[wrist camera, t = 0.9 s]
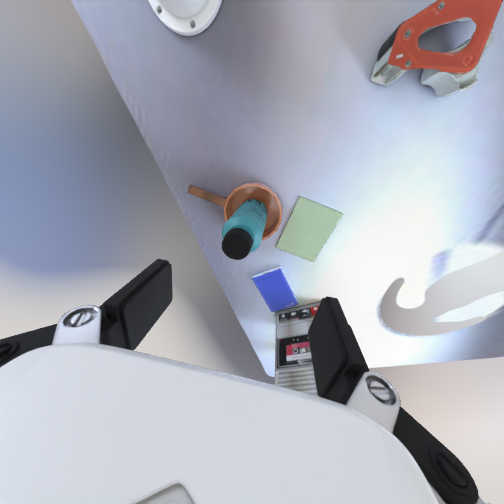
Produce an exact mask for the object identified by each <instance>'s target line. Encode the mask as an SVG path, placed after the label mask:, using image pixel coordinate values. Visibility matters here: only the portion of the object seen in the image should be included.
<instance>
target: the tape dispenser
mask: <svg viewBox="0 0 504 504" xmlns="http://www.w3.org/2000/svg"><path fill="white" fill-rule="evenodd" d="M502 1H503V0H438V1H436V2H435V3H433V4H432V5H430V6H429V7H427V8H426V9H424V10H422V11H421V12H419V13H418V14H416V15H415V16H413V17H412V18H410V19H408V20H407V21H404V22H403V23H401V24H400V25H399V26H398V28H397V29H396V30H395V31H394V32H393V34H392V35H391V36H390V37H389V38H388V40H387V41H386V42H385V43H384V44H383V45H382V47H381V49H380V51H379V54H378V57H377V60H376V63H375V66H374V69H373V72H372V75H371V78H370V81H371V82H374V83H377V84H381V85H384V86H389V85H391V84H392V83H393V82H394V81H395V80H397V79H398V78H399V77H400V76H401V75H403V74H404V73H405V72H406V71H407V70H410V69H416V68H418V69H420V68H424V71H423V73H422V76H421V81H420V83H421V84H425V85H429V86H431V87H433V89H434V90H435V93H436V98H443V97H447V96H450V95H452V94H454V93H457V92H459V91H461V90H469V89H470V88H471V87H473V86H474V85H475V83H476V82H477V74H478V69H479V65H480V62H481V59H482V57H483V55H484V53H485V51H486V50H487V48H488V47H489V45H490V44H491V42H492V38H493V37H492V32H491V30H492V28H493V24H494V21H495V19H496V16H497V14H498V11H499V9H500V7H501V3H502ZM470 19H472V20H473V21H474V22H475V23H476V25H477V27H476V30H475V32H474V34H473V35H472V37H471V39H469V40H467V41H466V42H465V43H463V44H462V45H460V46H459V47H457V48H456V49H454V50H453V51H449V52H444V53H441V52H433V51H426V50H424V49H421V48H419V45H418V39H419V37H420V35H422V34H423V33H425V32H427V31H429V30H431V29H433V28H436V27H438V26H441V25H444V24H448V23H453V22H455V21H458V22H461V21H469V20H470Z"/></svg>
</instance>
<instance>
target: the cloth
mask: <svg viewBox="0 0 504 504" xmlns="http://www.w3.org/2000/svg"><path fill="white" fill-rule="evenodd" d="M342 215H343V214H342V213H340V212H337V211H335V210H333V209H330V208H328V207H325V206H323V205H320V204H318V203H315V202H313V201H310V200H308V199H305V198H303V197H301V196H300V197H299V199H298V202H297V204H296V206H295V208H294V210H293V212H292V214H291V216H290V218H289V220H288V222H287V225H286V227H285V229H284V231H283V233H282V235H281V237H280V239H279V241H278V243H277V245H276V248H278V249H281V250H283V251H286V252H288V253H291V254H293V255H296V256H299V257H301V258H304V259H306V260H309V261H311V262H314V260H315V259H316V257H317V255H318V254H319V252H320V251H321V249H322V247H323V246H324V244H325V243H326V241H327V239H328V238H329V236H330V234H331V233H332V231H333V230H334V228H335V226H336V225H337V223H338V222H339V220H340V218H341V217H342Z"/></svg>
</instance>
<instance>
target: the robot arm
mask: <svg viewBox="0 0 504 504" xmlns="http://www.w3.org/2000/svg"><path fill="white" fill-rule="evenodd" d="M149 3H150V5H151V7H152V8H153V10H154V12H155V13H156V15H157V16H158V17H159V19H160V20H161V21H162V22H163V23H164V24H165V25H166V26H167V27H168V28H169V29H170V30H172V31H173V32H175V33H177V34H180V35H184V36H192V35H196V34H199V33H201V32H202V31H204V30H205V29H206V28H208V26H209V25H210V24H211V23H212V22H213V20H214V18H215V17H216V15H217V13H218V11H219V8H220V5H221V3H222V0H149ZM194 26H195V27H194ZM171 301H172V269H171V264H169V262H168V261H166V260H162V259H157V260H156V261H155V262H153V263H152V264H151V265H150V266H149V267H147V268H146V269H145V270H144V271H142V272H141V273H140V274H139V275H137V276H136V277H135V278H134V279H132V280H131V281H130V282H129V283H127V284H126V285H125V286H124V287H122V289H120V290H119V291H118V292H116V293H115V294H114V295H113V296H111V297H110V298H109V299H108V300H106V301H105V302H104V303H103V304H102V305H101V306H100V307H97V306H94V305H86V306H80V307H77V308H74V309H72V310H70V311H68V312H67V313H65V314H64V315H63V316H62V317H61V318H60V320H59V321H58V324H55V325H51V326H47V327H44V328H40V329H37V330H33V331H29V332H26V333H22V334H18V335H15V336H11V337H8V338H5V339H1V340H0V504H485V503H484V502H483V500H482V499H481V498H480V497H479V496H478V489H477V487H476V485H475V482H474V480H473V478H472V477H471V475H470V473H469V472H468V470H467V469H466V468H465V466H464V465H463V464H462V463H461V461H459V459H458V458H457V457H456V456H455V455H454V454H453V453H452V452H451V451H450V450H448V449H447V448H446V447H445V446H444V445H443V444H442V443H441V442H440V441H438V440H437V439H436V438H435V437H434V436H433V435H432V434H430V433H429V432H428V431H427V430H426V429H425V428H424V427H423V426H422V425H421V424H419V423H418V422H417V421H416V420H415V419H414V418H413V417H412V416H411V415H409V414H408V413H407V412H406V411H405V410H404V409H403V408H402V407H401V406H400V402H401V401H400V397H399V395H398V393H397V391H396V389H395V388H394V387H393V386H392V384H391V383H390V382H389V381H388V380H387V379H385V378H384V377H383V376H381V375H380V374H377V373H375V372H370V371H369V369H368V366H367V364H366V362H365V359H364V357H363V355H362V352H361V350H360V347H359V345H358V343H357V340H356V338H355V336H354V333H353V331H352V329H351V327H350V325H348V323H347V320H346V318H345V315H344V313H343V311H342V308H341V306H340V303H339V301H338V299H337V298H332V297H326V298H323V299H322V300H321V303H320V305H319V307H318V309H317V312H316V314H315V316H314V318H313V321H312V323H311V325H310V327H309V330H308V338H309V344H310V351H311V357H312V363H313V369H314V376H315V382H316V388H317V394H318V396H319V397H317V396H314V395H310V394H306V393H303V392H299V391H295V390H291V389H287V388H283V387H279V386H276V385H272V384H268V383H264V382H260V381H255V380H252V379H248V378H243V377H240V376H236V375H232V374H228V373H224V372H220V371H215V370H211V369H207V368H203V367H199V366H195V365H191V364H187V363H183V362H179V361H175V360H170V359H166V358H162V357H158V356H154V355H150V354H145V353H141V352H137V351H133V350H134V349H135V348H136V347H137V346H138V345H139V343H140V342H141V341H142V339H143V338H144V337H145V336H146V334H147V333H148V332H149V330H150V329H151V328H152V326H153V325H154V324H155V323H156V321H157V320H158V319H159V317H160V316H161V315H162V313H163V312H164V311H165V310H166V308H167V307H168V306H169V304H170V303H171ZM487 504H490V503H487Z"/></svg>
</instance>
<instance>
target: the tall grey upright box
mask: <svg viewBox="0 0 504 504" xmlns="http://www.w3.org/2000/svg"><path fill="white" fill-rule="evenodd" d="M320 303H321V302H318V303H314V304H309V305H305V306H300V307H296V308H291V309H287V310H282V311H278V312H275V316H276V347H275V385H276V386H279V387H283V388H287V389H291V390H295V391H299V392H303V393H306V394H310V395H314V396H317V397H319V396H318V394H317V388H316V382H315V376H314V369H313V363H312V357H311V351H310V344H309V338H308V330H309V327H310V325H311V323H312V321H313V318H314V316H315V314H316V312H317V309H318V307H319V305H320Z"/></svg>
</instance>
